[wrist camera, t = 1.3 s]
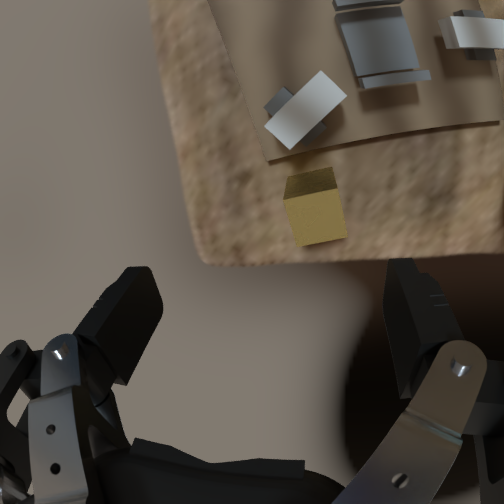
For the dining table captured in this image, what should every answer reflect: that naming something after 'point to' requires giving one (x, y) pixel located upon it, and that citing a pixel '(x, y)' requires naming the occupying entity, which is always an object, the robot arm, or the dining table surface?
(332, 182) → the block
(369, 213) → the dining table surface
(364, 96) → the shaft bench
